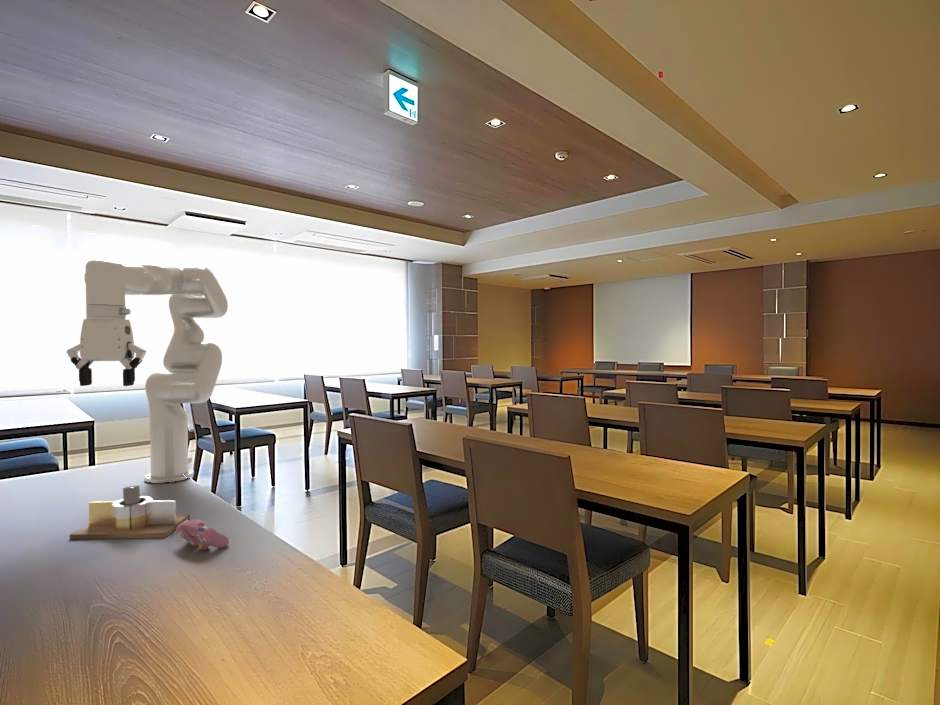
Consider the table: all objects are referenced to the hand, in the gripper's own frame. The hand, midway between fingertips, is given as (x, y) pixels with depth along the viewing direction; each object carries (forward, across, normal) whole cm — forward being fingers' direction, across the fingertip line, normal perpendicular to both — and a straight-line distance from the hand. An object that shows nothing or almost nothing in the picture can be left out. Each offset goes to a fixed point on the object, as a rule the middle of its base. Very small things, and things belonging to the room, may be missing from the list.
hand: (107, 385), depth 120 cm
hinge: (+30, -12, +12) cm, 35 cm away
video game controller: (+31, -31, +22) cm, 49 cm away
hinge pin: (+29, -12, +12) cm, 34 cm away
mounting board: (+30, -12, +12) cm, 35 cm away
